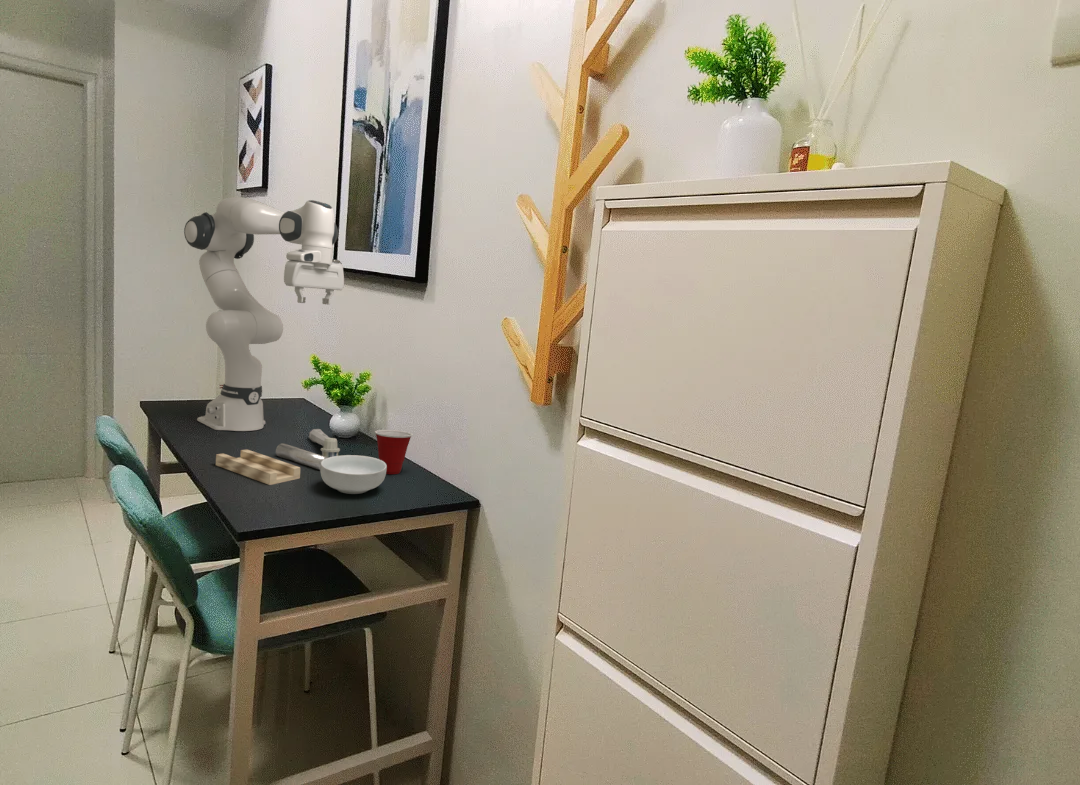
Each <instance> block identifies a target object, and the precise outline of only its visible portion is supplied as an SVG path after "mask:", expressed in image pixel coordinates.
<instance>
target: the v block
mask: <svg viewBox="0 0 1080 785" xmlns="http://www.w3.org/2000/svg"><path fill="white" fill-rule="evenodd" d="M215 466H217V467H219V468H223V469H225V470H227V471H231V472H233V473H236V474H239V475H241V476H244V477H247V478H249V479H252V480H255V481H258V482H260V483H262V484H266V485H269V486H272V485H277V484H280V483H286V482H289V481H290V482H291V481H293V480H298V479H300V478H301V467H300V466H297V465H294V464H292V463H289V462H286V461H282V460H280V459H276V458H274V457H271V456H268V455H265V454H262V453H259V452H256V451H254V450H253V451H252V450H250V449H240V455H239V457H235V456H231V455H229V454H226V453H223V452H222V453H218V454H217V453H216V454H215Z"/></svg>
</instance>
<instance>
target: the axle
mask: <svg viewBox="0 0 1080 785" xmlns="http://www.w3.org/2000/svg"><path fill="white" fill-rule="evenodd" d="M275 448H276V449H275V454H276V455H277V456H278V457H280V458H283V459H286V460H289V461H291V462H295V463H298V464H301V465H303V466H307V467H309V468H312V469H315V470H319V471H320V466H321V462H322V461H323V460H324V459H326V458H328V457H325V456H322V454H319V453H318V454H317V453H315V452H313V451H309V450H305V449H303V448H301V447H296V446H294V445H289V444H287V443H282V442H281V443H280V444H278V445H277V447H275Z"/></svg>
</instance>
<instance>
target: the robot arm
mask: <svg viewBox="0 0 1080 785" xmlns="http://www.w3.org/2000/svg"><path fill="white" fill-rule="evenodd" d="M183 232H184V238H185V240H186V242H187V244H188V245H189V246H190V247H192V248H195V249H198V250H201V251H202V250H206V251H205V252H204V253H202V254H201V255H200V258H199V260H198V265H199V269H200V274H201V277H202V279H203V282H204V284H205V286H206V288H207V291H208V293H209V294H210V296H211V299H212V301H213V303H214V304H215V305H216V306H217V308H219V309H221V310H219V311H215V312H212V313H211V314H209V315H208V318H207V320H206V323H205V330H206V334H207V336H208V337H209V338H210V339H211V341H213V342H214V343H215V344H216V345H217V346H218V348H219V349H220V351H221V353H222V355H223V361H224V383H223V384H219V389H221V390H220V392H219V393H220V394H219V395H218V396H216V397H215V398H214V399H212V400H210V401H209V402H208V403H207V404H206V407H205V415H201V416H199V417H197V419H196V421H198V422H199V423H201V424H203V425H205V426H207V427H209V428H211V429H212V430H215V431H235V432H250V431H258V430H261V429H263V428H265V426H264V425H266V420H265V419H264V403H263V400H262V399H261V397H262V396H263V386H262V372H263V371H262V370H263V369H262V368H263V365H262V363H261V361H260V360H259V358H257V357H256V356H254V355H252V353H251V350H250V345H266V344H270V343H274V342H277V341H279V340H280V338H281V337H282V335H283V332H284V324H283V322H282V319H281V318H280V317H279V315H277V314H276V313H273V312H271V311H270V310H268V309H267V308H266V307H264V306H263V305H262V304H261V303H260V302H259V301H258V300H257V299H256V298H255V297H254V296H253V295H252V294H251V293H250V291H249V289H248V288H247V286H246V284H245V282H244V281H243V278H242V277H241V275H240V273H239V271H238V269H237V267H236V265H235V259H236V260H239V259H242V258H243V257H244V255H245V254H247V253H248V252H250V250H251V249H252V247H253V245H254V242H255V235H280V237H281V238H282V239H283V240H284V241H285V242H287V243H290V244H296V245H301V248H298V249H295V250H292V251H287V253H286V255H285V256H286V257H285V258H286V260H287V261H286V263H285V265H284V272H283V282H284V284H285V286H287V287H293V288H294V292H295V294H296V296H297V303H298V304H305V303H306V297H304V294H303V292H304V288H306V289H308V288H310V289H317V290H318V289H319V290H325V293H326V294H325V296H324V297H322V305H330V304H331V299H332V298H333V296H334V293H335V291H342V290H343V289H344V288H345V276H344V275H345V274H344V273H345V272H344V264H343V262H341V261H340V260H339V259H333V254H334V246H333V245H334V244H335V243H336V242H337V240H338V237H339V230H338V226H337V224H336V222H335V212H334V208H333V207H332V206H331V205H330V204H328V203H325V202H321V201H317V200H313V199H312V200H311V199H310V200H306V202H304V204H303V205H302V206H301V207H299V208H297V209H294V210H287V211H286V212H284V211H282V210H279V209H277V208H275V207H272V206H270V205H267V204H265V203H263V202H260V201H258V200H255V199H253V198H247V197H243V196H232V197H231V196H230V197H226V198H223V199H221V200H220V201H219V203H218V204H217V205H216V210H215V213H213V214H210V213H208V212H203V213H201V214H199V215H196V216H192V217H191V218H189V220H188V221H186V223H185V225H184V230H183Z"/></svg>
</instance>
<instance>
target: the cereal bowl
mask: <svg viewBox="0 0 1080 785" xmlns="http://www.w3.org/2000/svg"><path fill="white" fill-rule="evenodd" d="M386 469H387V465H386V464H385V462H383V461H381V460H379V458H376V457H372V456H367V455H357V454H356V455H355V454H354V455H351V454H346V455H345V454H344V455H338V456H334V457H329V458H326V459H324V460H323V461H322V462H321V466H320V470H319V471H320V477H321V478H322V481H323V482H324V484H326V485H327V486H329V488H332V489H333V490H337V491H338V492H340V493H343V494H349V495H358V494H363V493H367V492H368V491H371V490H373V489H375V488H377V487H379V486H380V485H381V484H382V483H383V482H384V480H385V477H386V475H387V474H386Z"/></svg>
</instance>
